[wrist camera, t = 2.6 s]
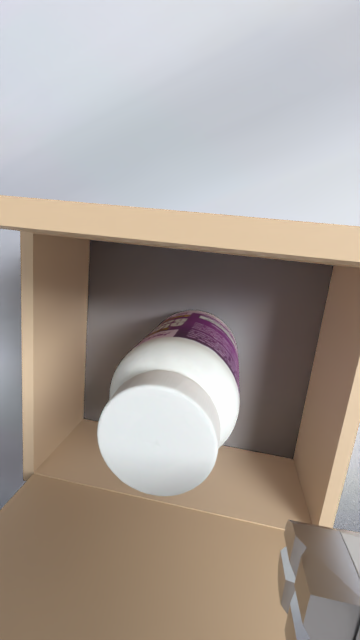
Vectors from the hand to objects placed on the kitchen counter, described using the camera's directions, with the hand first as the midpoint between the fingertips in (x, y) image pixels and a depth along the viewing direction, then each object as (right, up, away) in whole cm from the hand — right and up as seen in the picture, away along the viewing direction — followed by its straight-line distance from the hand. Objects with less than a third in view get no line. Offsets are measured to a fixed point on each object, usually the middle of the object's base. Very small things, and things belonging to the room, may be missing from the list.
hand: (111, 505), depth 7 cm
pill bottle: (+2, +3, +12) cm, 12 cm away
